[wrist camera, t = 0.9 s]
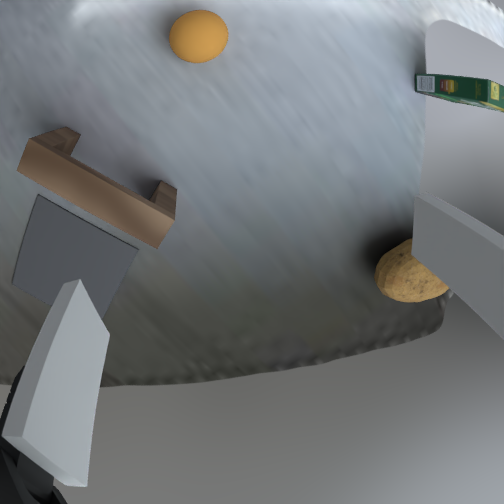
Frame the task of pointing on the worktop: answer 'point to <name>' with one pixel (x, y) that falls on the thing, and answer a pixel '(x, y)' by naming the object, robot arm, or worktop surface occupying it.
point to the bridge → (97, 188)
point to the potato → (406, 276)
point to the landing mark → (70, 256)
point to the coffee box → (462, 90)
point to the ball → (198, 36)
